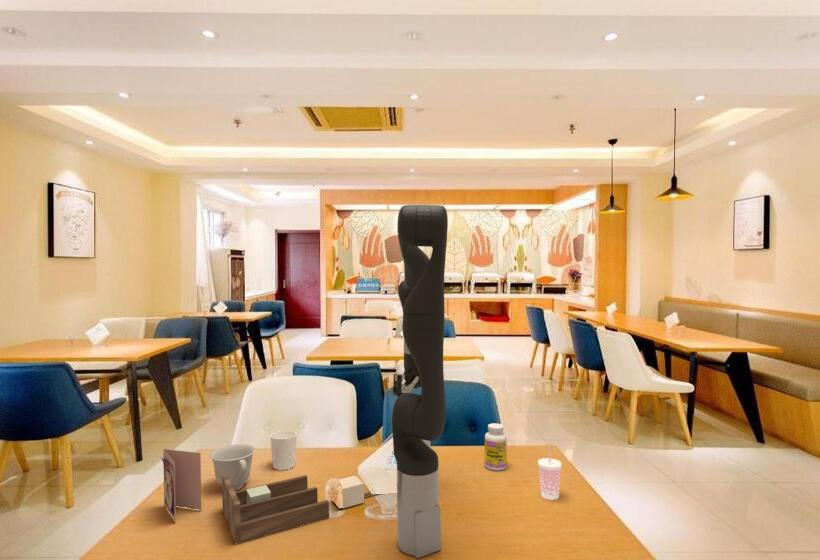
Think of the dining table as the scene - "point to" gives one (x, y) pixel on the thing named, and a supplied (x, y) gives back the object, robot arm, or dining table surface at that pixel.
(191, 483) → the greeting card
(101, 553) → the dining table surface
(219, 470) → the teacup
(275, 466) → the white cup
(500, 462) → the supplement bottle
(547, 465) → the beverage cup
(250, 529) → the lane rack
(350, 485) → the cream long block
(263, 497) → the sage block
